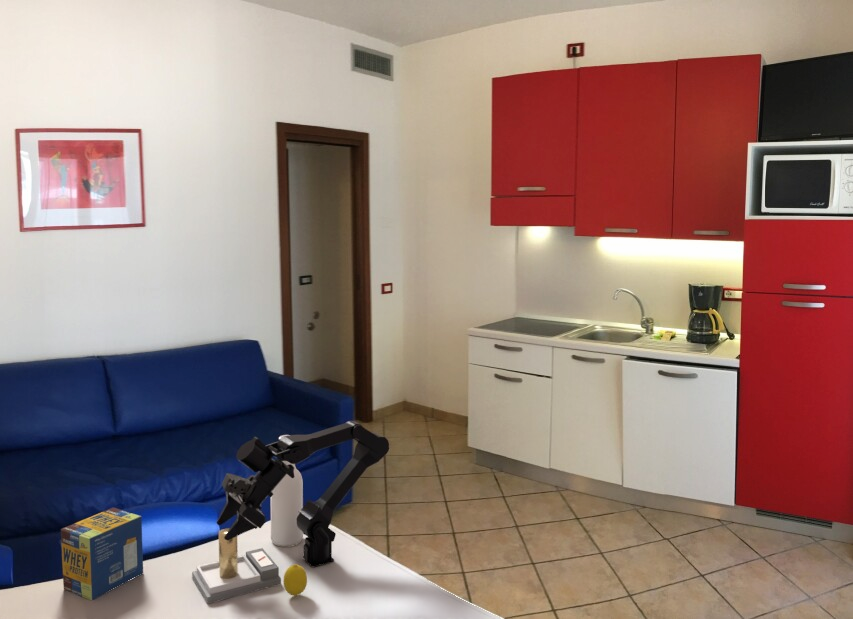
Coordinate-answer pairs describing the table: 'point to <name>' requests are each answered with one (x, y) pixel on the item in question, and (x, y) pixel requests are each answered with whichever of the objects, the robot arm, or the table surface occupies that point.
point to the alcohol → (287, 509)
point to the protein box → (101, 552)
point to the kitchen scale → (237, 577)
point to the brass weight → (227, 556)
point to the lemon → (295, 580)
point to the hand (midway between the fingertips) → (221, 531)
